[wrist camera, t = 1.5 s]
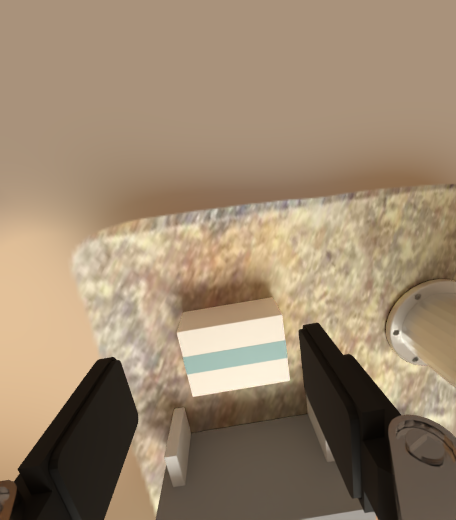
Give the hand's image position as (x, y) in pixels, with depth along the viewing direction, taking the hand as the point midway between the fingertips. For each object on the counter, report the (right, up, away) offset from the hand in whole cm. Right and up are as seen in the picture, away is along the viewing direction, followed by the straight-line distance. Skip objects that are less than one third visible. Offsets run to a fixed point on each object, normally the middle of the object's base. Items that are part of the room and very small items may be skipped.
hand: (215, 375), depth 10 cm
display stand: (+4, -20, +28) cm, 34 cm away
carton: (+1, -6, +24) cm, 25 cm away
